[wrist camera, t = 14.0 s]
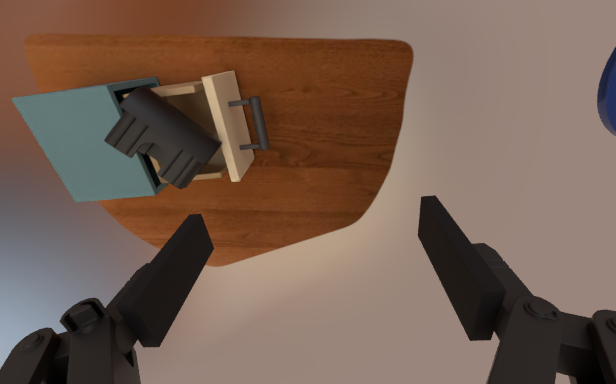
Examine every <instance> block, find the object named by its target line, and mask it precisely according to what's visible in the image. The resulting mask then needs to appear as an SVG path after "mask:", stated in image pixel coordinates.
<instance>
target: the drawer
mask: <svg viewBox="0 0 616 384" xmlns="http://www.w3.org/2000/svg"><path fill="white" fill-rule="evenodd" d="M150 89H151V90H153V91H154V92H155V93H157V94H158V95H159V96H161V97H162V98H163V99H165V100H166V101H167V102H169V103H170V104H171V105H173V106H174V107H175V108H177V109H178V110H180V111H181V112H182V113H184V114H185V115H186V116H188V117H189V118H190V119H192V120H193V121H194V122H196V123H197V124H198V125H200V126H201V127H202V128H204V129H205V130H206V131H208V132H209V133H211V134H212V135H213V136H215V137H216V138H217V139H219V140H220V141H221V142H222V145H221V146H220V148H219V149H218V150H217V152H216V153H215V154H214V156H213V157H212V158H211V159H210V161H209V162H208V163H207V164H206V165H203V166H202V168H201V169H200V170H199V172H198V173H197V174H196V176H195V177H194V178H193V180H201V179H211V178H221V177H222V176H223V175H224V174H225V173H226V171H227V170H228V171H229V175H230V178H231V181H232V182H236V181H240V180H241V178H242V177H243V175H244V174H245V172H246V171H247V169H248V168H249V166H250V164H251V163H252V161H253V160H254V158H255V157H254V153H253V149H257V148H260V150H267V149H269V148H270V147H269V142H268V137H267V132H266V127H265V122H264V117H263V112H262V107H261V102H260V97H259V96H253V97H249V99H245V100H241V98H240V93H239V89H238V85H237V80H236V76H235V72H234V71H228V72H223V73H219V74H214V75H210V76H206V77H202V81H195V82H187V83H180V84H173V85H165V86H159V87H155V88H150ZM129 94H130V93H128V94H124V95H123V96H124V98H126V97H127V96H128V95H129ZM249 104H250V107H251V111H252V116H253V121H254V125H255V130H256V134H257V139H258V143H256V144H251V140H250V136H249V132H248V128H247V123H246V119H245V115H244V110H243V106H242V105H249ZM150 158H151V161H152V163H153V165H154V168H155V170H156V172H158V171H159V170H160V168H161V167H162V166H163V164H162V163H160V162H159V161H157V160H155V159H154V158H152V157H151V156H150ZM158 177H159V176H158ZM159 179H160V182H161V183H168V182H167V181H166V180H164V179H163V178H161V177H159Z"/></svg>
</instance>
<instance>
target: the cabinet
mask: <svg viewBox="0 0 616 384" xmlns="http://www.w3.org/2000/svg"><path fill="white" fill-rule="evenodd" d="M144 86H145V87H148V88H155V87H159V86H160V84H159V81H158V79H157V77H150V78H143V79H136V80H129V81H122V82H115V83H108V84H101V85H93V86H86V87H80V88H73V89H67V90H61V91H54V92H48V93H42V94H35V95H30V96H23V97H17V98H12V101H13V103H14V104H15V106H16V107H17V109H18V110H19V112H20V114H21V115H22V117H23V119H24V120H25V122H26V123H27V125H28V127H29V128H30V130H31V132H32V133H33V135H34V136H35V138H36V140H37V141H38V143H39V144H40V146H41V148H42V149H43V151H44V152H45V154H46V155H47V157H48V159H49V160H50V162H51V163H52V165H53V167H54V168H55V170H56V172H57V173H58V175H59V176H60V178H61V180H62V181H63V183H64V184H65V186H66V188H67V189H68V191H69V192H70V194H71V196H72V197H73V199H74V200H75V202H85V201H97V200H108V199H119V198H131V197H142V196H154V195H156V194H158V193H159V192H160V191H161V190H162V189H163V188H165V187H166V186H167V185H168V184H169V182H168V183H161V182H160V179H159V177H158V175H156V174H157V172H156V170H155V168H154V165H153V163H152V161H151V158H150V156H149V155H148V154H142V153H141V152H139V151H137V152H136V153H135V154H134V156H133V157H132V158H129V157H128V156H126V155H125V154H123V153H121V152H120V151H118V150H117V149H115V148H114V147H112V146H110V145H109V144H107V143H106V142H105V141H104V139H105V138H106V136H107V135H108V133H109V132H110V131H111V129H112V128H113V127H114V125H115V124H116V123H117V121H118V120H119V119H120V117H121V116H122V115H123V113H124V112H125V110H124V109H123V108H121V107H120V106H119V105H120V103H121V102H122V101H123V100H124V99H125V98H124V96H123V95H124V94H128V93H131V92H133V91H134V90H136V89H137V88H140V87H144Z"/></svg>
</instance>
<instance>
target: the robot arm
mask: <svg viewBox="0 0 616 384" xmlns="http://www.w3.org/2000/svg"><path fill="white" fill-rule="evenodd" d="M418 237H419V239H420V241H421V243H422V245H423V247H424V249H425V251H426V253H427V255H428V257H429V259H430V261H431V263H432V265H433V267H434V269H435V271H436V273H437V275H438V277H439V279H440V281H441V283H442V285H443V287H444V289H445V291H446V293H447V295H448V297H449V299H450V301H451V303H452V306H453V307H454V310H455V311H456V314H457V315H458V318H459V320H460V322H461V324H462V326H463V327H464V330H465V332H466V334H467V335H468V338H469V340H470V341H477V340H491V338H492V335H493V332H494V331H495V333H496V335H497V336H498V338H499V340H500V343H499V346H498V348H497V351H496V355H495V358H494V361H493V364H492V367H491V370H490V373H489V376H488V379H487V382H486V384H555V378H556V372H558V373H561V374H565V375H568V376H569V379H570V383H571V384H616V311H611V310H599V311H597V312H595V313H594V314H593V316H592V318H587V317H583V316H578V315H573V314H568V313H564V312H561V311H559V310H558V308H556V307H555V306H554V305H553V304H551V303H550V302H548V301H546V300H544V299H542V298H540V297H536V296H533V294H532V293H531V292H530V291H529V290H528V288H527V287H526V286H525V285H524V284H523V283H522V281H521V280H520V279H519V278H518V277H517V276H516V274H515V273H514V272H513V271H512V270H511V269H510V268H509V266H508V265H507V264H506V263H505V261H503V259H502V258H501V256H500V255H499V254H498V253H497V252H496V251H495V250H494V249H492V248H491V247H489V246H488V245H486V244H485V243H478V244H471V242H470V241H469V240H468V238H467V237H466V236H465V234H464V233H463V232H462V230H461V229H460V228H459V226H458V225H457V224H456V222H455V221H454V220H453V218H452V217H451V216H450V214H449V213H448V212H447V210H446V209H445V208H444V207H443V205H442V204H441V202H440V201H439V200H438V198H437V197H436V196H424V197H421V206H420V218H419V229H418ZM213 249H214V247H213V244H212V242H211V239H210V236H209V234H208V231H207V228H206V226H205V223H204V220H203V218H202V215H201V214H193V215H189V216H188V217H187V218H186V220H185V221H184V222H183V223H182V224H181V226H180V227H179V228H178V229H177V231H176V232H175V233H174V234H173V235H172V237H171V238H170V239H169V240H168V242H167V243H166V244H165V245H164V247H163V248H162V249H161V250H160V252H159V253H158V254H157V255H156V256H155V258H154V259H153V260H152V261H151V262H150V263H146V264H145V265H144V266H142V267H141V268H140V269H139V270H137V271H136V272H135V274H134V275H133V276H132V277H131V278H130V281H128V282H127V283H126V284H125V286H124V287H123V288H122V289H121V290H120V292H118V294H117V295H116V296H115V297H114V298H113V300H112V301H111V302H110V303H109V304H108V305H107V307H106V308H104V306H103V305H102V304H101V302H100V301H99V299H97V298H88V299H86V300H83V301H80V302H79V303H77V304H75V305H74V306H72V307H71V308H70V309H69V310H67V311H66V312H65V313H64V315H63V316H62V318H61V320H60V322H61V324H62V325H63V326H64V327H65V328H66V329H67V332H64V333H60V334H56V333H55V332H54V331H53V329H52V328H43V329H39V330H38V331H35V332H33V333H31V334H30V335H28V336H26V337H25V338H24V339H22V340H21V341H20V342H19V343H18V344H17V345H16V346H15V347H14V349H13V350H12V351H11V353H10V354H9V356H8V358H7V359H6V361H5V363H4V364H3V366H2V367H1V369H0V384H141V382H140V376H139V369H138V363H137V356H136V351H135V350H134V348H133V346H134V344H135V343H136V341H137V340H139V342H140V343H141V345H142V346H143V347H160V345H161V343H162V341H163V339H164V338H165V336H166V334H167V332H168V330H169V329H170V327H171V325H172V323H173V321H174V320H175V318H176V316H177V314H178V312H179V311H180V309H181V307H182V305H183V303H184V302H185V300H186V298H187V296H188V294H189V292H190V291H191V289H192V287H193V285H194V284H195V282H196V280H197V278H198V276H199V275H200V273H201V271H202V269H203V267H204V266H205V264H206V262H207V260H208V258H209V257H210V255H211V253H212V251H213Z"/></svg>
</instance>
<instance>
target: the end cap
mask: <svg viewBox="0 0 616 384" xmlns="http://www.w3.org/2000/svg"><path fill="white" fill-rule="evenodd" d="M119 106H120V107H121V108H123V109H124V110H125V112H124V113H123V115H122V116H121V117H120V119H119V120H118V121H117V123H116V124H115V125H114V127H113V128H112V129H111V131H110V132H109V133H108V135H107V136H106V138H105V139H104V141H105V142H106V143H107V144H109V145H110V146H112V147H114V148H115V149H117V150H118V151H120V152H121V153H123V154H125V155H126V156H128V157H129V158H132V157H133V156H134V154H135V153H136V152H137V151H139V152H141V153H142V154H148V155H149V156H151V157H152V158H154V159H155V160H157V161H159V162H160V163H162V164H163V166H162V167H161V168H160V170H159V171H158V172H157V174H156V175H158V176H159V177H161V178H163V179H164V180H166V181H167V182H169V183H171V184H172V185H174V186H175V187H177V188H179V189H183V188H186V187H187V186H188V184H189V183H190V182H191V181H192V180H193V178H194V177H195V176H196V174H197V173H198V172H199V170H200V169H201V168H202V166H203V165H206V164H207V163H208V162H209V161H210V159H211V158H212V157H213V156H214V154H215V153H216V152H217V150H218V149H219V148H220V146H221V145H222V142H221V141H220V140H219V139H217V138H216V137H215V136H213V135H212V134H211V133H209V132H208V131H206V130H205V129H204V128H202V127H201V126H200V125H198V124H197V123H196V122H194V121H193V120H192V119H190V118H189V117H188V116H186V115H185V114H184V113H182V112H181V111H180V110H178V109H177V108H175V107H174V106H173V105H171V104H170V103H169V102H167V101H166V100H165V99H163V98H162V97H161V96H159V95H158V94H157V93H155V92H154V91H153V90H151V89H150V88H148V87H145V86H144V87H140V88H137V89H136V90H134V91H133V92H131V93H130V94H129V95H128V96H127V97H126V98H125V99H124V100H123V101H122V102H121V103H120V105H119Z"/></svg>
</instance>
